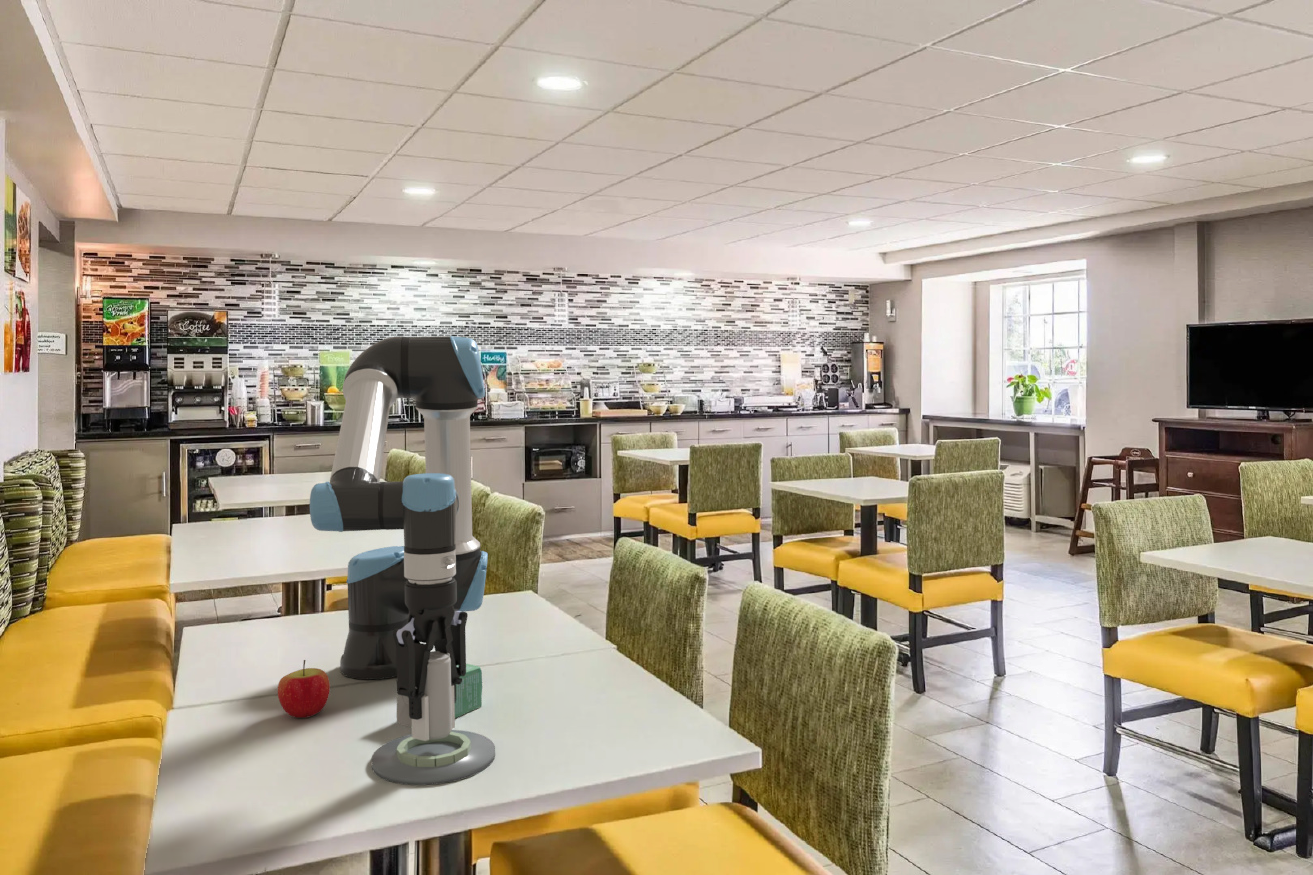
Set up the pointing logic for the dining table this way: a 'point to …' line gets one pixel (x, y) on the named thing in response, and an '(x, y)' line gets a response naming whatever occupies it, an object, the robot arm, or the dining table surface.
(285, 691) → the apple
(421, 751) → the tray
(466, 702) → the box
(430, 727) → the beverage can
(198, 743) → the dining table surface
